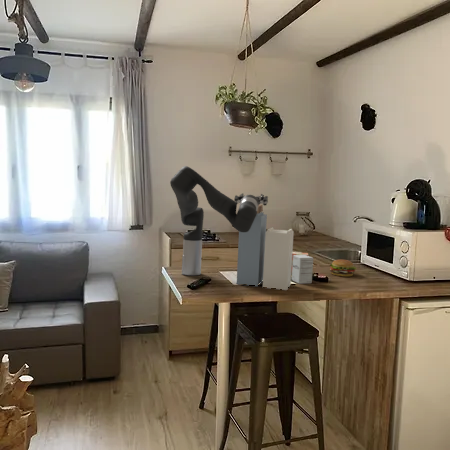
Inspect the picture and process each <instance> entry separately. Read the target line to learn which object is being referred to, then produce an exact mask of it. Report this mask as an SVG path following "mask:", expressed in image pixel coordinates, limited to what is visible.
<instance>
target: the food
mask: <svg viewBox="0 0 450 450" xmlns="http://www.w3.org/2000/svg"><path fill="white" fill-rule="evenodd" d="M357 269H358V267H357V266H355V265H354V263H353V262H352V261H350V260H347V259H341V258H339V259H336V260H333V261H332V263H330V264H329V272H330V274H332V275H333V276H337V277H343V278H344V277H345V278H346V277H347V278H348V277H353V276H354V273H355V272H356V270H357Z"/></svg>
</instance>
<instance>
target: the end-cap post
mask: <svg viewBox="0 0 450 450" xmlns="http://www.w3.org/2000/svg"><path fill="white" fill-rule="evenodd" d="M294 233H295V232H294V230H293V228H290V229H288V230H286V229H274V226H273V227H269V228H268V229H266V236H265V254H264V272H263V281H262V288H263V287H267V288H266V289H271V288H276V289H275V290H280V289H282V290H281V291H287V290H289V288H290V286H291V281H292V277H291V266H292V252H293V249H294ZM288 287H289V288H288Z"/></svg>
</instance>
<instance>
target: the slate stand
mask: <svg viewBox="0 0 450 450" xmlns="http://www.w3.org/2000/svg"><path fill="white" fill-rule="evenodd" d="M267 217H268V214H265V213H264V212H263V211H262V212H260V213H258V214H257V215H256V217H255V219H254V221H253V224H252V226H251V228H250V230H249V231H248V232H240V231H238V242H237V243H238V245H237V247H238V249H237V266H236V267H237V268H236V285H240V284H247V285H246V286H249V285H255V286H254V287H259V286H258V284H259V283H260V282H261V281H262V280H263V272H264V254H265V236H266V231H267V219H268V218H267ZM262 282H263V281H262ZM262 282H261V283H262ZM261 283H260V284H261Z"/></svg>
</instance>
